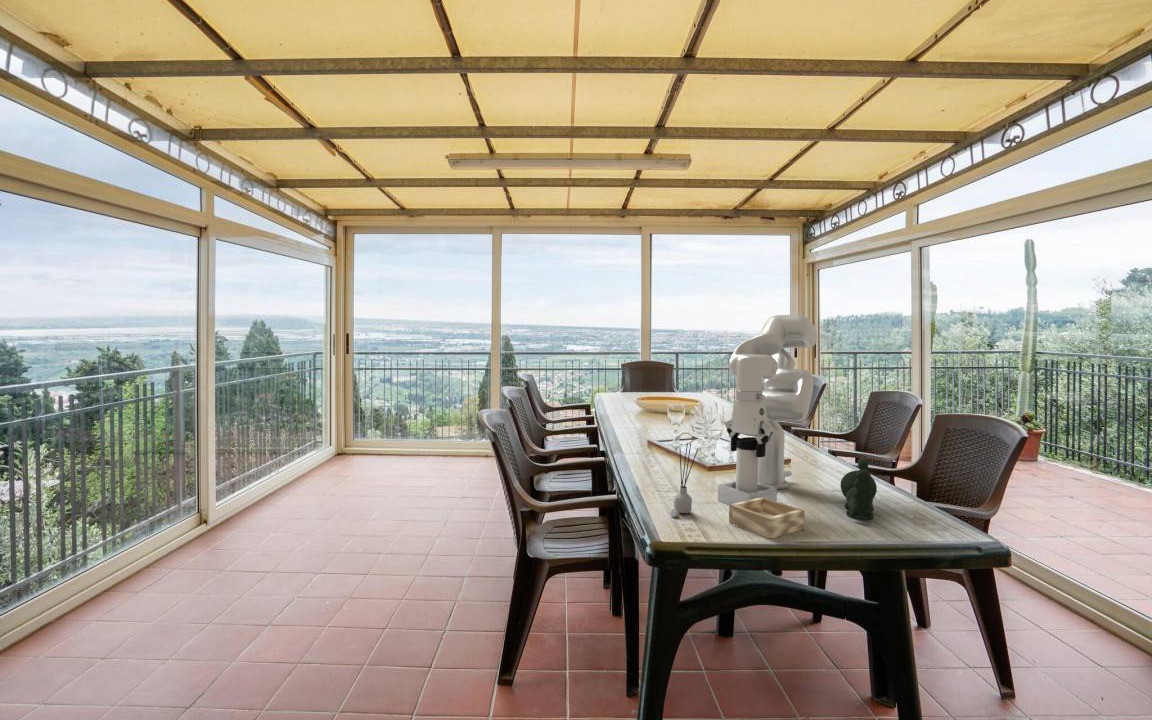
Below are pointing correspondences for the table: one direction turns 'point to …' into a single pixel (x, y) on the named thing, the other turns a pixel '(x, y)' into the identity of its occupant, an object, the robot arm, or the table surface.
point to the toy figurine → (859, 491)
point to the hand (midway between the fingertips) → (747, 453)
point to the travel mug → (747, 465)
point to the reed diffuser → (683, 492)
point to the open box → (744, 493)
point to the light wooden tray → (766, 517)
